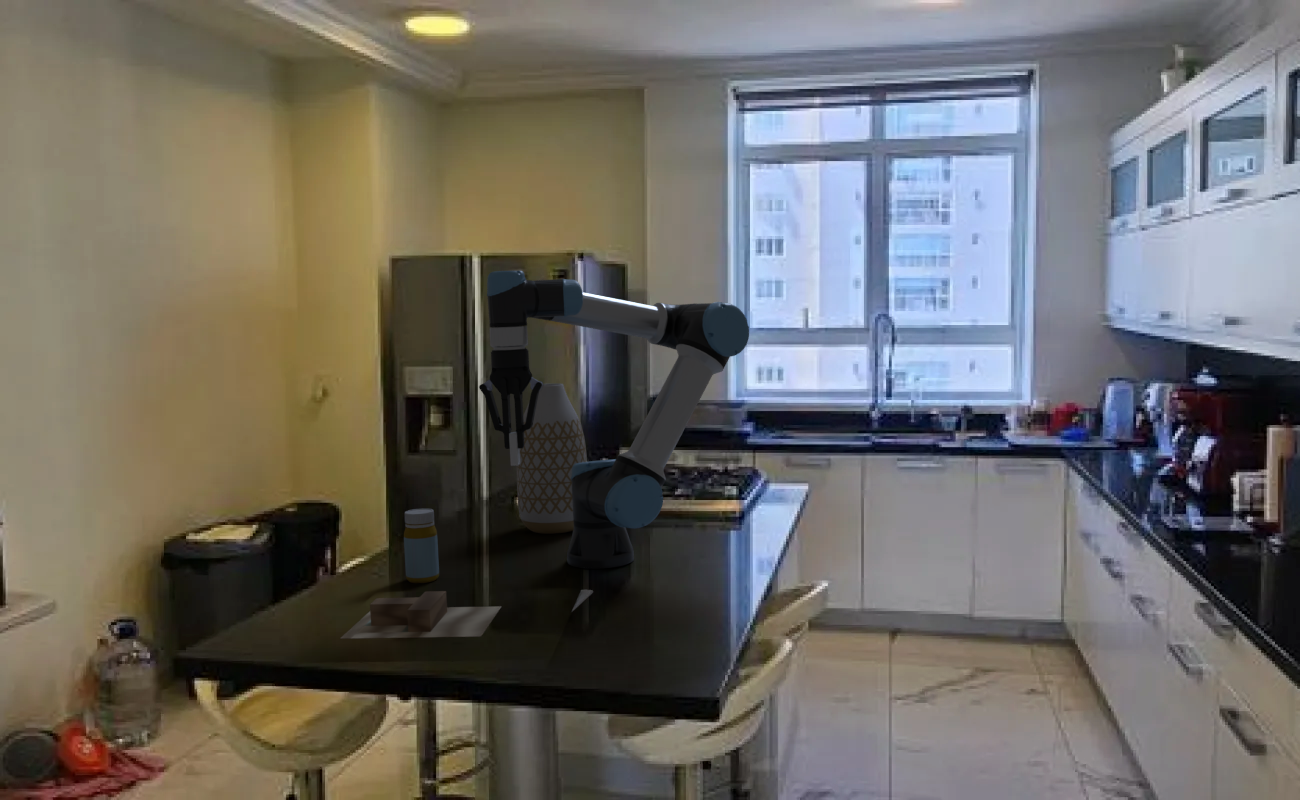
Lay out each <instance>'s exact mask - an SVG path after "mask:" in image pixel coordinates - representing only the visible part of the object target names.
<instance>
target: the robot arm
mask: <svg viewBox="0 0 1300 800" xmlns="http://www.w3.org/2000/svg"><path fill="white" fill-rule="evenodd" d="M525 276H526V275H525V272H524V271H523V270H495V271H491V272H489V274H488V276H487V280H486V281H487V282H486V286H487V291H486V292H487V293H486V296H487V306H488V321H489V329H488V330H489V345H490V347H491V348H493V349H492V350H491V351H490V362H491V365H490V366H491V372H490V374H489V379H488V380H486V381H484V383H480V385H479V386H478V388H479V390H480V391H481V393H482V394H483V395H484V398H485V401H486V405H487V408H488V412H489V416H490V419H491V422H492V424H493V428H494V430H495V431H499V432H501V433H502V434H503V438H504V439H503V440H504V448H505V450H509V457H510V459H509V460H510V466H511V467H513V466H514V467H515V466H516V467H517V466H518V465H519V464H520V448H523V447H524V431H525V430H528V429H530V428H531V427H532V426H533V421H534V416H535V410H536V405H537V400H538V394H539V392H540V390H541V388H542V387H543V384H544V381H542V380H538V379H536V378H535V377H533V374H532V371H531V369H530V357H529V356H530V355H529V349H528V348H527V346H528V345H529V338H528V337H529V334H528V319H529V318H531V319H538V320H542V321H550V322H555V323H559V324H560V323H561V324H566V325H571V326H576V327H577V326H578V327H582V328H588V329H594V330H597V331H598V330H600V331H605V332H610V333H616V334H621V335H627V336H630V337H638V338H642V339H646V340H647V342H648V343H649V344H650V345H657V346H660V347H661V346H662V347H665V348H668V349H673V350H676V352H677V359H675V362H674V364H673V366H672V368H671V370H670V372H669V374H668V375H667V378H666V379H665V381H664V383H663V385H662V387H661V389H660V391H659V393H658V394H657V397H656V398H655V401H654V402H653V404H652V406H651V408H650V410H649V411H648V414H647V415H646V417H645V419H644V421H643V423H642V425H641V426H640V428H639V430H638V432H637V434H636V436H635V437H634V440H633V442H632V443H631V446H630V447H629V449H628V450H627V451H626V452H622V453H619V454H618V455H617V456H616V458H615V459H602V460H601V459H600V460H592V461H591V460H589V461H587V462H581V463H576V464H574V465H573V467H572V475H571V481H572V501H573V521H574V529H573V531H572V534H571V537H570V540H569V541H570V542H569V545H568V547H567V553H566V556H567V557H566V560H567V561H566V562H567V564H568V565H570V566H571V567H574V568H581V569H595V570H597V569H611V568H617V567H623V566H626V565H628V564H630V563H633V562H634V561H635V555H634V554H635V552H634V547H633V545H632V542H631V540H630V537H629V534H628V530H627V528H628V529H641V528H644V527H645V526H648V525H650V524H651V523H652V522H653V521H654V520H655V519H656V518H657V517H658V516H659V514H660V512H661V510H662V508H663V505H664V496H663V490H662V488H663V486H664V485H665V482H666V480H667V478H666V475H665V472H664V469H665V468H666V466H667V463H668V462H669V460H670V458H671V456H672V454H673V452H674V450H675V448H676V446H677V444H678V442H679V440H680V439H681V436H682V435H683V433H684V430H685V429H686V427H687V425H688V423H689V421H690V419H691V417H692V415H693V413H694V411H695V410H696V408H697V406H698V404H699V402H700V400H701V399H702V396H703V394H704V393H705V390H706V388H707V386H708V384H709V383H710V381H711V380H712V377H713V376H714V374H718V373H722V372H723V371H724V369H725V367H726V365H727V364H728V362H729V360H730V358H731V357H734V356H737V355H739V354H740V353H742V351H743V350H745V348H746V347H747V344H748V342H749V337H750V326H749V324H748V320H747V318H746V315H745V314H744V312H743V311H742V309H740V308H739V307H737V306H736V305H734V304H732V303H728V302H723V301H715V302H711V303H710V302H709V303H701V302H700V303H687V304H686V303H685V304H684V303H683V304H671V303H670V304H668V303H662V302H655V303H654V304H653V305H650V304H645V303H644V304H643V303H639V302H634V301H629V300H624V299H620V298H614V297H609V296H603V295H597V294H593V293H590V292H589V293H588V292H585V291H584V292H583V290H582V289H583V288H582V287H581V284H580V282H578V280H576V279H565V278H561V279H539V280H538V279H537V280H535V279H534V280H529V279H527V278H526V277H525ZM529 384H530V389H531V393H530V396H529V401H528V404H529V407H528V412H527V417H526V423H525V424H524V419H523V415H524V406H523V405H524V403H523V397H524V394H523V393H524V391H525V390H526V388H527V387H528V386H529ZM493 386H494V387H495V389H496V390H497V391H498V392H499V394H500V398H501V408H502V409H501V411H502V420H501V416H500V413H499V410H498V406H497V403H496V400H495V397H494V394H493V390H494V389H493V388H494V387H493ZM511 395H513V399H514V415H515V416H514V417H515V431H512V430H513V428H512V418H511V417H512V416H511V414H512V413H511Z"/></svg>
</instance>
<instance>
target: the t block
mask: <svg viewBox="0 0 1300 800" xmlns="http://www.w3.org/2000/svg"><path fill="white" fill-rule="evenodd" d="M447 607H448V601H447V591H446V590H440V591H439V590H438V591H436V590H435V591H434V590H431V591H430V590H429V591H424V592H423V593H422V594H421V595H420V596H419V597H380V598H379V597H377V598H375V599H374V600H373V601H372V602H371V603H370V604H369V610H370V611H369V612H370V614H371V626H397V625H408V632H431V631H432V630H433V628H434V627H435V626H436V625H437V624H438V622H439V621H440V620H441V619H442V618H443V616H444V615H445V614H446V613H447Z"/></svg>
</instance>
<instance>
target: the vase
mask: <svg viewBox="0 0 1300 800" xmlns="http://www.w3.org/2000/svg"><path fill="white" fill-rule="evenodd" d="M528 407H529V403H528V404H527V406H526V409H525V411H524V412H523V419H524V424H525V423H526V417H527V412H528ZM585 439H586V438H585V435H584V431H583V426H582V423H581V421H580V419H579V416H578V414H577V411H576V410H575V409H574V406H573V404H572V403H571V401H570V399H569V396H568V394H567V392H566V389H565V385H564V383H543V387H542V388H541V390H540V392H539V394H538V400H537V405H536V410H535V416H534V421H533V426H532V427H531V428H530V429H528V430H525V431H524V447H523V448H520V464H519V465H518V466H516V491H517V505H518V506H517V507H518V512H519V513H518V514H519V518H520V520H521V523H523V526H525V527H526V528H527V529H528V530H529V531H531V532H533V533H537V534H542V535H544V534H545V535H546V534H547V535H552V534H553V535H554V534H565V533H570V532H573V529H574V521H573V501H572V481H571V475H572V467H573V465H574V464H576V463H581V462H588V457H587V447H586V440H585Z"/></svg>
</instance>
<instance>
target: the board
mask: <svg viewBox="0 0 1300 800" xmlns="http://www.w3.org/2000/svg"><path fill="white" fill-rule="evenodd" d="M501 608H502V606H501V605H499V606H455V607H454V606H451V607H448V606H447V613H446V614H445V615H444V616H443V618H442V619H441V620H440V621H439V622H438V624H437V625H436V626H435V627H434V628H433V630H432V631H431V632H408V625H397V626H371V614H370V611H369V612H367V613H366V614H365V615H364V616H363V617H362V618H361V619H360V620H359V621H357V622H356V623H355V624H354V625H353V626H352V627H351V628H350V629H348V631H346V632H345V633H344V634H343V635H342V636H341V637H340V640H342V639H343V640H344V639H349V640H350V639H352V640H353V639H401V638H402V639H408V638H409V639H411V638H415V639H416V638H462V637H463V638H464V637H465V638H471V637H472V638H473V637H476V638H477V637H482V636H483V634H484V633H485V632H486V630H487V629H488V628H489V626H490V625H491V623H492V621H493V620H494V619H495V617H496V616H497V614H498V613H499V611H500V609H501Z"/></svg>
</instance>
